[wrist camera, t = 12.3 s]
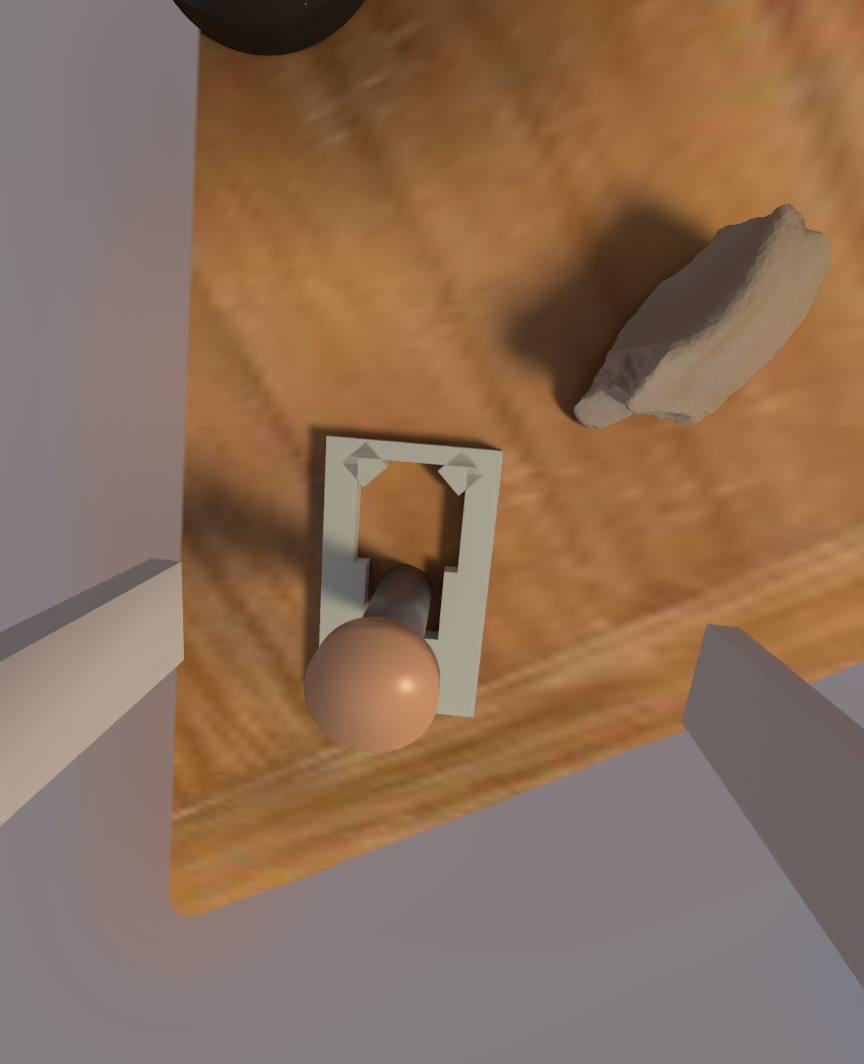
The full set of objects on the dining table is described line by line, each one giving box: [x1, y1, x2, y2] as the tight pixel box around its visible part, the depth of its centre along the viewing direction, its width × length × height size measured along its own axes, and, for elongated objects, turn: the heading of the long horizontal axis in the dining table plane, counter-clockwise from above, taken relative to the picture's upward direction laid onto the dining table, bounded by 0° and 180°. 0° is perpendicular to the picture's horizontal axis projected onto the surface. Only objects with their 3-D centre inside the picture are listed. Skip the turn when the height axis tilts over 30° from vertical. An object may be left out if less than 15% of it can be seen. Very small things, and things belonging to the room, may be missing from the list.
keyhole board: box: [319, 436, 503, 717], centre depth 37 cm, size 20×12×2 cm, turn 175°
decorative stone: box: [574, 204, 832, 429], centre depth 29 cm, size 8×14×8 cm, turn 135°
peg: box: [304, 565, 440, 753], centre depth 31 cm, size 6×6×14 cm
